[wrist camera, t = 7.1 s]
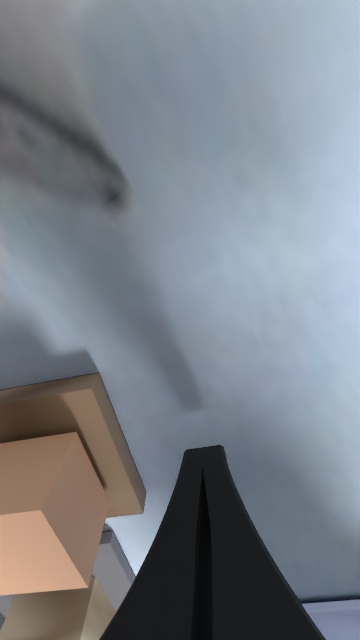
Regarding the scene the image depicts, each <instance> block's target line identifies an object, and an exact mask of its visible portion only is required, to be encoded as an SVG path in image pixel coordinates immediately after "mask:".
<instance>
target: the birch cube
mask: <svg viewBox="0 0 360 640" xmlns="http://www.w3.org/2000/svg"><path fill="white" fill-rule="evenodd" d="M115 613H116V612H115V610H114V608H113V606H112V605H111V603H110V601H109V600H108V598H107V596H106V594H105V593H104V591H103V589H102V588H101V586H100V584H99V582H98V581H97V579H96V577H91V579H90V583H89V587H88V588H79V589H68V590H57V591H45V592H34V593H23V594H16V595H15V597H14V600H13V602H12V604H11V607H10V609H9V611H8V614H7V616H6V619H5V621H4V623H3V626H2V628H1V630H0V640H99V639H100V637H101V636H102V634H103V633H104V631H105V629H106V628H107V626H108V625H109V623H110V621H111V620H112V618H113V617H114V615H115Z"/></svg>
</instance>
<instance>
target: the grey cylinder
mask: <svg viewBox="0 0 360 640" xmlns="http://www.w3.org/2000/svg"><path fill="white" fill-rule="evenodd" d="M5 619H6V618H5V617H4V616H3V615H2V614H1V613H0V630H1V628H2V626H3V623H4V621H5Z"/></svg>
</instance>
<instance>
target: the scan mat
mask: <svg viewBox="0 0 360 640" xmlns="http://www.w3.org/2000/svg"><path fill="white" fill-rule="evenodd" d="M91 577H96V579H97V581H98V582H99V584H100V586H101V588H102V589H103V591H104V593H105V594H106V596H107V598H108V600H109V601H110V603H111V605H112V606H113V608H114V610H115V612H117V610H118V608H119V607H120V605H121V603H122V601H123V600H124V598H125V596H126V594H127V592H128V591H129V589H130V587H131V585H132V583H133V581H134V579H135V578H136V577H135V575H134V573H133V571H132V569H131V567H130V565H129V563H128V561H127V559H126V557H125V555H124V553H123V551H122V549H121V547H120V545H119V542H118V540H117V538H116V536H115V534H114V532H113V531H107V532H102V535H101V539H100V543H99V547H98V551H97V555H96V559H95V563H94V567H93V571H92V575H91ZM15 595H16V594H12V595H1V596H0V613H1V614H2V615H3V616H4V617H5V618H6V616H7V614H8V611H9V609H10V607H11V604H12V602H13V600H14V597H15Z"/></svg>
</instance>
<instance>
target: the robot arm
mask: <svg viewBox="0 0 360 640" xmlns="http://www.w3.org/2000/svg"><path fill="white" fill-rule="evenodd" d="M99 640H360V599H357V600H344V601H331V602H318V603H305V604H301V602H300V601H299V599H298V598H297V596H296V595H295V593H294V592H293V590H292V589H291V587H290V586H289V584H288V583H287V581H286V580H285V578H284V576H283V575H282V573H281V572H280V570H279V568H278V567H277V565H276V563H275V562H274V560H273V558H272V557H271V555H270V553H269V552H268V550H267V548H266V546H265V545H264V543H263V541H262V539H261V537H260V536H259V534H258V532H257V530H256V528H255V526H254V524H253V522H252V521H251V519H250V517H249V515H248V513H247V511H246V509H245V506H244V504H243V502H242V500H241V498H240V496H239V493H238V491H237V489H236V487H235V484H234V482H233V479H232V476H231V474H230V471H229V468H228V464H227V460H226V455H225V451H224V447H223V446H221V445H216V446H209V447H202V448H194V449H187V450H186V451H185V452H184V456H183V460H182V464H181V468H180V472H179V475H178V478H177V481H176V485H175V488H174V490H173V493H172V496H171V499H170V502H169V504H168V507H167V510H166V512H165V515H164V517H163V520H162V522H161V525H160V527H159V529H158V532H157V534H156V537H155V539H154V541H153V543H152V545H151V548H150V550H149V552H148V554H147V556H146V558H145V560H144V562H143V564H142V566H141V568H140V570H139V572H138V574H137V576H136V578H135V579H134V581H133V583H132V585H131V587H130V589H129V591H128V592H127V594H126V596H125V598H124V600H123V601H122V603H121V605H120V607H119V608H118V610H117V612H116V613H115V615H114V617H113V618H112V620H111V621H110V623H109V625H108V626H107V628H106V629H105V631H104V633H103V634H102V636H101V637H100V639H99Z"/></svg>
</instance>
